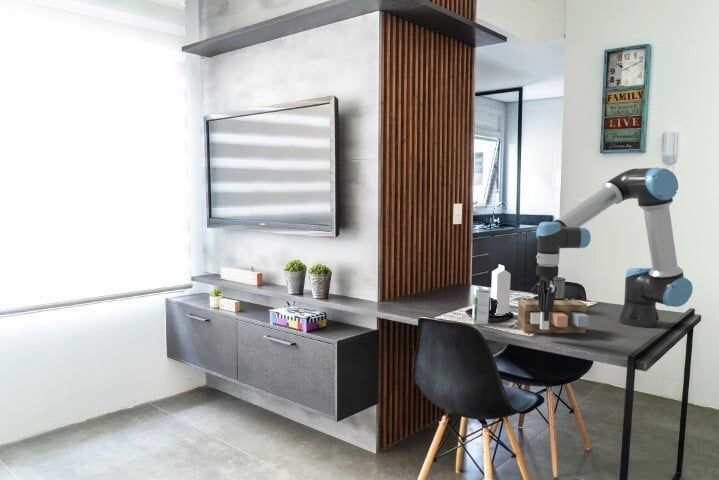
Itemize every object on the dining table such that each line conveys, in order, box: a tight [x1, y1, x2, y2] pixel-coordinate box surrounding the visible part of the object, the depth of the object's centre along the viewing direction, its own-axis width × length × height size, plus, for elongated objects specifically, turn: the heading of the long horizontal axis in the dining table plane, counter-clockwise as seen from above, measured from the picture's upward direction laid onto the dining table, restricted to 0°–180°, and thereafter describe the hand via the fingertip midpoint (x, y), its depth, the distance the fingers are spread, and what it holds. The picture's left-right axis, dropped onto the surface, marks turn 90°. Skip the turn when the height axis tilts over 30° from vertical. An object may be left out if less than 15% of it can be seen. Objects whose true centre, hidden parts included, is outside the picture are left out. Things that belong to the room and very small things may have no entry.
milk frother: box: [526, 276, 567, 300], centre depth 253 cm, size 14×16×15 cm
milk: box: [490, 264, 512, 314], centre depth 238 cm, size 6×6×22 cm
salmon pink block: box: [549, 311, 568, 327], centre depth 210 cm, size 4×9×4 cm, turn 3°
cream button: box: [529, 311, 541, 324], centre depth 214 cm, size 4×9×4 cm, turn 3°
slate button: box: [570, 311, 590, 328], centre depth 210 cm, size 4×9×4 cm, turn 3°
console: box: [516, 299, 588, 334], centre depth 216 cm, size 24×8×11 cm, turn 93°
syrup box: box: [471, 286, 491, 325], centre depth 225 cm, size 6×6×14 cm
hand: (544, 328), depth 202 cm, fingers closed
